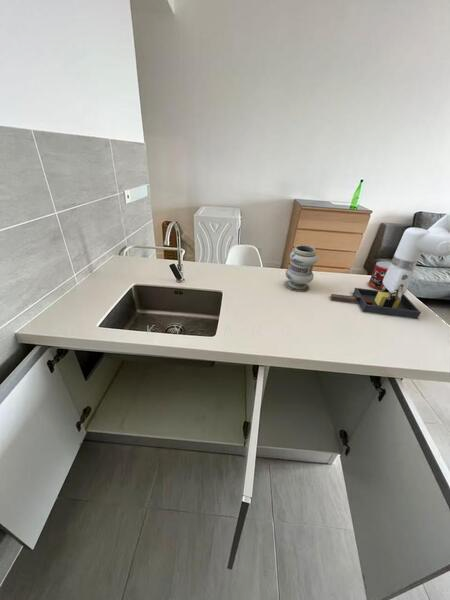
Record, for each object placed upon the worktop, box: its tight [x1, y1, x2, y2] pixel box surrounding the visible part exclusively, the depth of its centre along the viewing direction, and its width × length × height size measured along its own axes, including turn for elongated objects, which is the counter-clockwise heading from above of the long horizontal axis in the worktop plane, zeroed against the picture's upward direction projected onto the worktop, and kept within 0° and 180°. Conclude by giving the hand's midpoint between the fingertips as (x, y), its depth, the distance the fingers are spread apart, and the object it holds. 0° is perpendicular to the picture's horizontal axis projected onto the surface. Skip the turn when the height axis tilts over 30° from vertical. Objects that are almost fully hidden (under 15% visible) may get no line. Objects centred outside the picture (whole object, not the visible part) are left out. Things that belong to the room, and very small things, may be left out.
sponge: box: [374, 290, 401, 308], centre depth 98 cm, size 7×4×4 cm, turn 80°
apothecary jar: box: [285, 244, 319, 292], centre depth 106 cm, size 12×12×18 cm
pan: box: [352, 287, 422, 320], centre depth 99 cm, size 20×15×3 cm
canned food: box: [368, 261, 391, 291], centre depth 111 cm, size 8×8×11 cm
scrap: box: [363, 297, 373, 305], centre depth 100 cm, size 4×4×1 cm
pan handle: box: [329, 293, 361, 304], centre depth 101 cm, size 11×3×3 cm, turn 80°
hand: (384, 303), depth 99 cm, fingers closed on sponge, 4 cm apart
